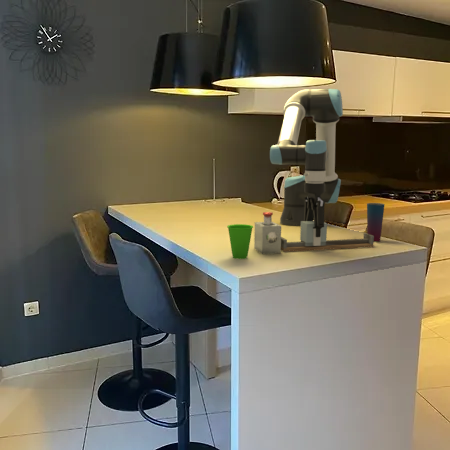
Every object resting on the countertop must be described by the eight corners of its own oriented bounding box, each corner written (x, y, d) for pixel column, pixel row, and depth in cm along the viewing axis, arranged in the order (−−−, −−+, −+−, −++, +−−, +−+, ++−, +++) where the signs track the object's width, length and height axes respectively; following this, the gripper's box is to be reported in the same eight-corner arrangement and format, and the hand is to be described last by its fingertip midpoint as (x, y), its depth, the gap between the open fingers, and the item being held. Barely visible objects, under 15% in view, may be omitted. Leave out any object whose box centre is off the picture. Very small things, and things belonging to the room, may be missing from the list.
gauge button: (261, 233, 185) (261, 212, 183) (270, 232, 185) (270, 211, 184) (264, 234, 181) (264, 213, 180) (273, 234, 182) (274, 213, 181)
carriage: (300, 243, 190) (300, 221, 189) (319, 242, 192) (320, 220, 190) (306, 246, 184) (306, 224, 183) (326, 245, 186) (327, 223, 185)
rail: (278, 248, 188) (278, 236, 188) (365, 244, 196) (366, 233, 196) (284, 251, 183) (284, 240, 182) (373, 247, 191) (373, 235, 190)
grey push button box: (254, 248, 188) (254, 222, 187) (271, 247, 190) (272, 221, 188) (262, 254, 178) (263, 227, 177) (281, 253, 180) (281, 226, 178)
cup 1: (248, 261, 168) (248, 229, 166) (223, 259, 171) (223, 227, 170) (256, 255, 176) (256, 225, 175) (232, 253, 180) (232, 223, 178)
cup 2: (384, 239, 205) (386, 203, 202) (379, 242, 199) (381, 205, 197) (368, 238, 208) (370, 202, 206) (362, 240, 203) (364, 204, 200)
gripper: (295, 180, 192) (294, 239, 196) (315, 184, 174) (313, 249, 178) (314, 180, 194) (312, 238, 198) (335, 184, 176) (333, 248, 180)
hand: (313, 243), depth 188 cm, fingers closed on carriage, 6 cm apart
